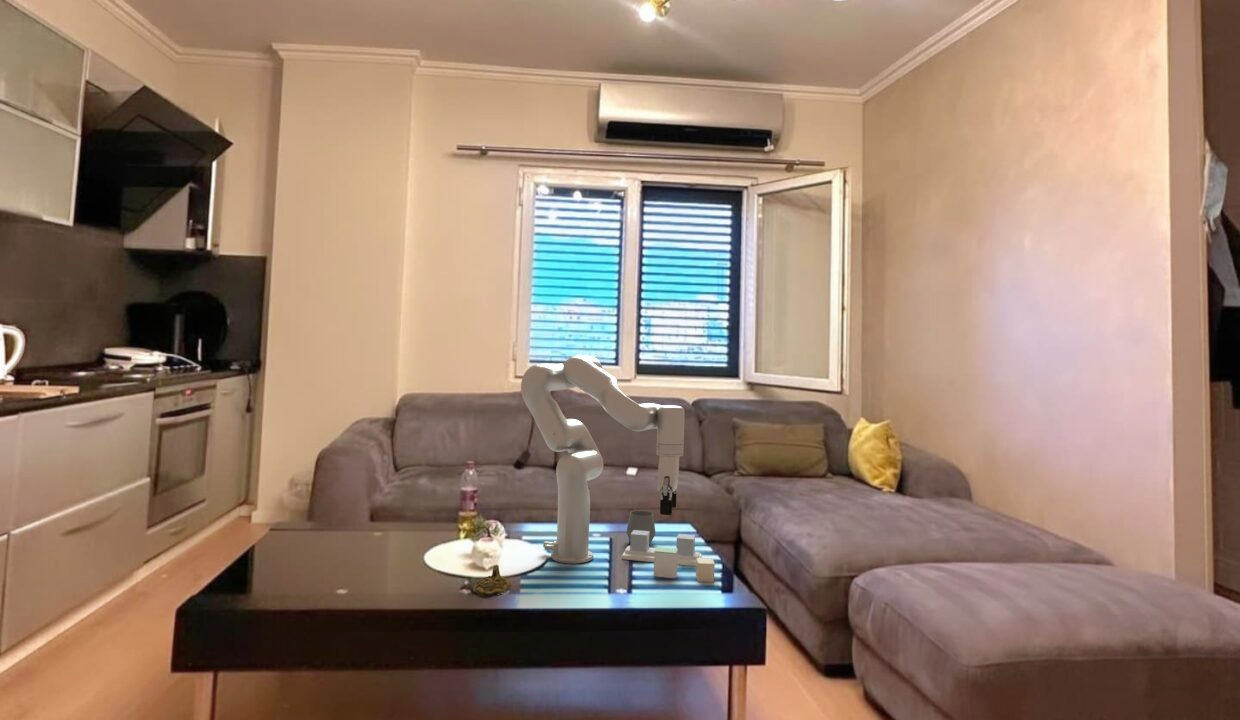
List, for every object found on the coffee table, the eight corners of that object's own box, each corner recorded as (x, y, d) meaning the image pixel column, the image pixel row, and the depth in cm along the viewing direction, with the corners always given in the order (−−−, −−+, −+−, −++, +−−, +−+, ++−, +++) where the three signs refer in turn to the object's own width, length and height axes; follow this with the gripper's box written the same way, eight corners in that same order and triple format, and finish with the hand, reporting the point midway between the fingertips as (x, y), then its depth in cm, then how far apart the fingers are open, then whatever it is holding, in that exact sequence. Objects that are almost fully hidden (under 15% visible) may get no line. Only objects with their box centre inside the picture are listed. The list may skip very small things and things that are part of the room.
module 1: (653, 576, 188) (654, 551, 188) (655, 571, 192) (656, 546, 192) (675, 578, 187) (675, 553, 187) (676, 573, 191) (677, 548, 191)
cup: (655, 548, 215) (656, 517, 215) (626, 547, 216) (627, 515, 216) (654, 540, 225) (655, 510, 225) (626, 539, 225) (627, 509, 225)
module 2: (697, 581, 185) (698, 563, 185) (695, 575, 190) (696, 557, 190) (713, 582, 185) (714, 563, 185) (711, 576, 190) (712, 558, 190)
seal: (505, 603, 167) (512, 582, 182) (508, 584, 167) (514, 565, 182) (468, 598, 167) (477, 578, 182) (470, 579, 167) (480, 560, 182)
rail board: (622, 559, 203) (622, 535, 203) (627, 550, 212) (628, 527, 211) (698, 566, 198) (699, 541, 198) (701, 557, 207) (702, 534, 207)
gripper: (660, 445, 199) (659, 503, 199) (652, 453, 182) (650, 516, 182) (686, 446, 197) (684, 505, 197) (679, 454, 180) (678, 518, 180)
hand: (668, 510), depth 189 cm, fingers open, 9 cm apart
